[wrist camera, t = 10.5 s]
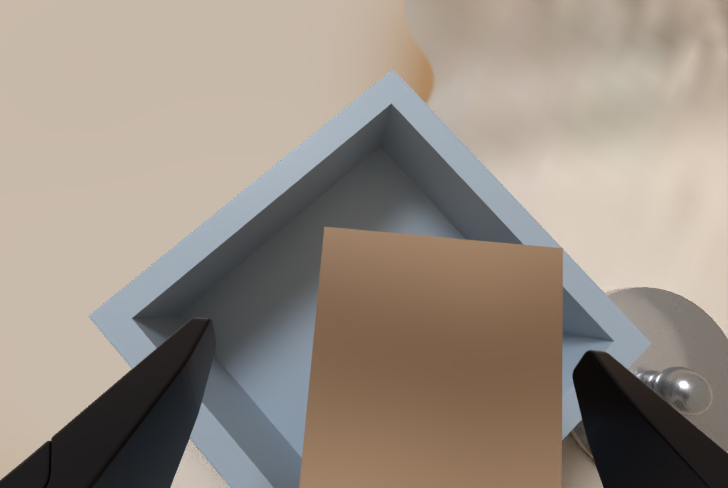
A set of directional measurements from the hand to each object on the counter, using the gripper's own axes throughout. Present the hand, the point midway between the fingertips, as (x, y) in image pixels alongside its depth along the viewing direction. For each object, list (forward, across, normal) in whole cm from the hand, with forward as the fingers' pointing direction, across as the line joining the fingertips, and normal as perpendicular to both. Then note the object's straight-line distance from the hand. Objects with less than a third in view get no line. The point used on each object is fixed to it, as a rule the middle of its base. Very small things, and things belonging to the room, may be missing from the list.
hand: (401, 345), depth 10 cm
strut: (+6, 0, +6) cm, 9 cm away
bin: (+7, 0, +7) cm, 9 cm away
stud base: (+6, -14, +8) cm, 17 cm away
